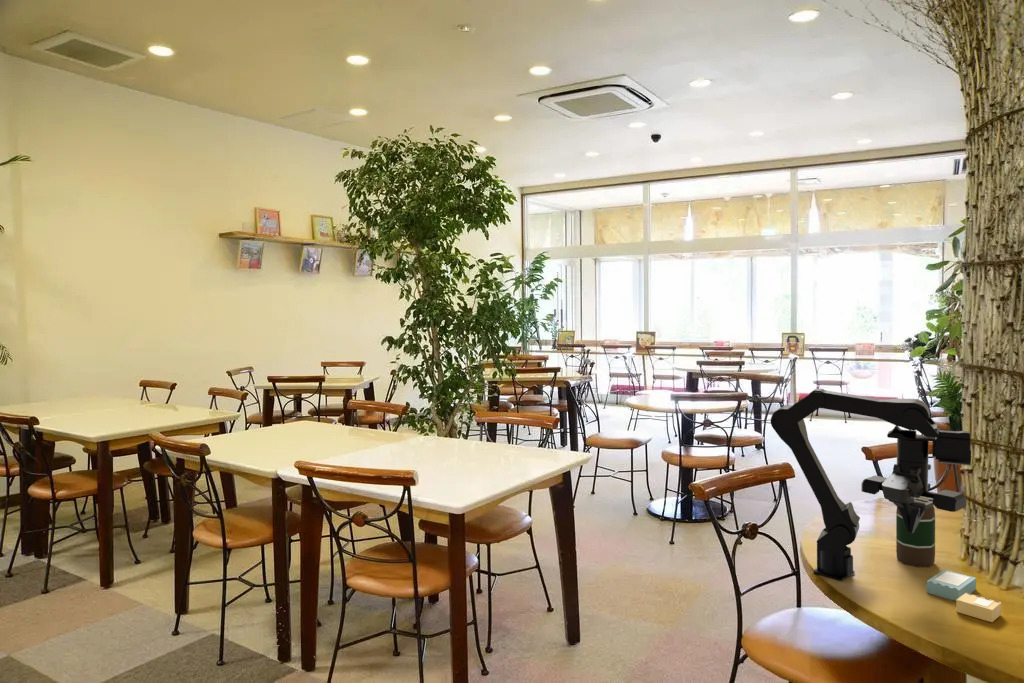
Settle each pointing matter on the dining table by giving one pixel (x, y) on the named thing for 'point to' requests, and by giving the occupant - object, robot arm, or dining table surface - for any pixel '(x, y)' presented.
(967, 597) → the stub
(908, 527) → the robot arm
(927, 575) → the dining table surface
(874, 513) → the dining table surface
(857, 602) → the dining table surface
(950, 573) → the pale blue pin-sided card
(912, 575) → the dining table surface
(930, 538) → the beer bottle
